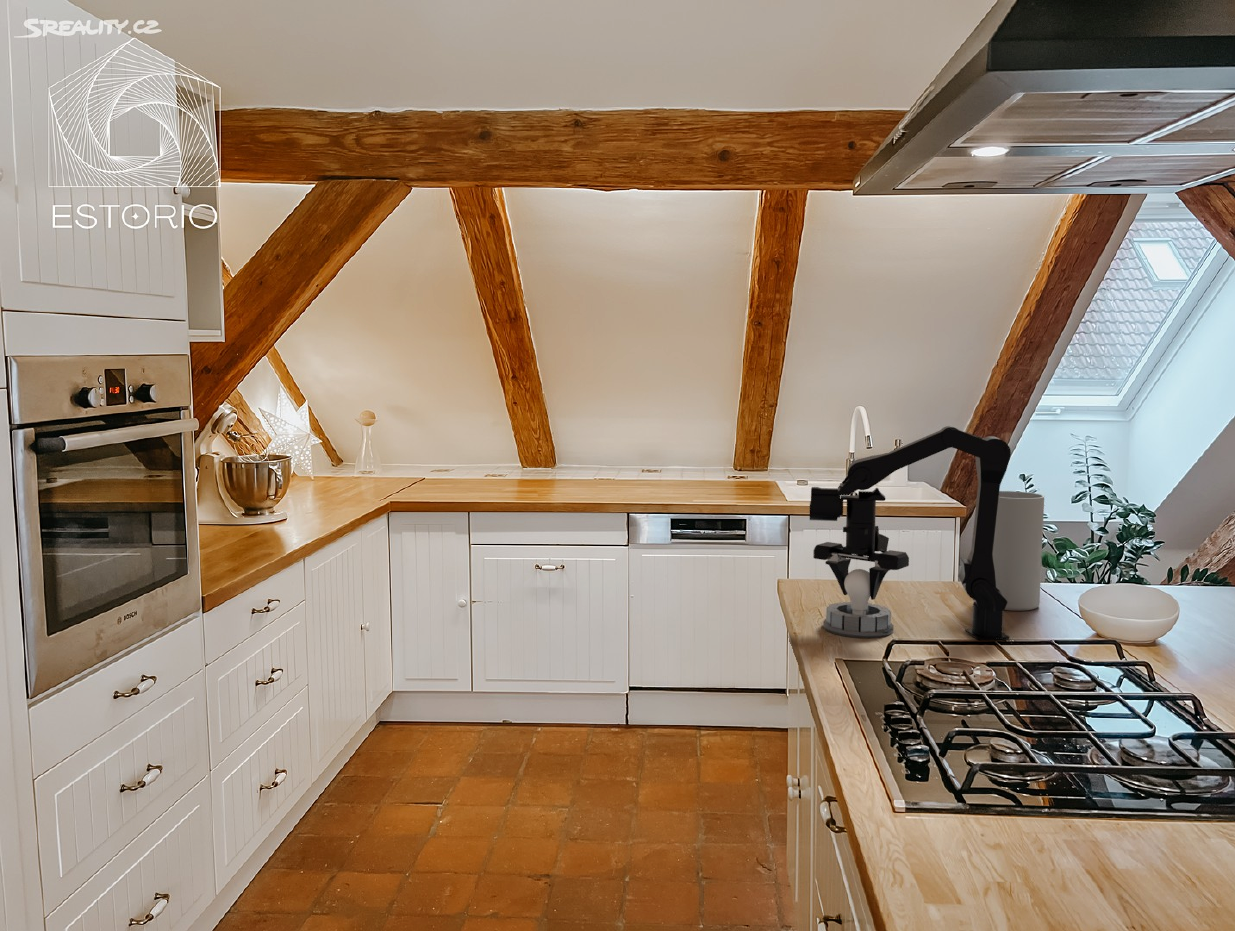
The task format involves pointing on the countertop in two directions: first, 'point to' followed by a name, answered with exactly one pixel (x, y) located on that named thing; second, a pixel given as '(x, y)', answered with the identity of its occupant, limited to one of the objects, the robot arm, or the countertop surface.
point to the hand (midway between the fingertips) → (859, 597)
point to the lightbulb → (858, 590)
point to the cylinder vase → (1019, 548)
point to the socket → (858, 621)
